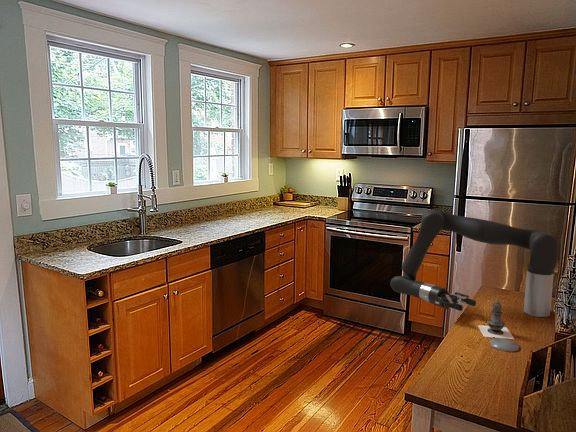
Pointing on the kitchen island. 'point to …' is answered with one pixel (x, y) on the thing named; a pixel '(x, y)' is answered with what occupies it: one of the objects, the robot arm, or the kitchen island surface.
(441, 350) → the kitchen island surface
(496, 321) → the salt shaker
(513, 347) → the coaster
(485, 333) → the card
